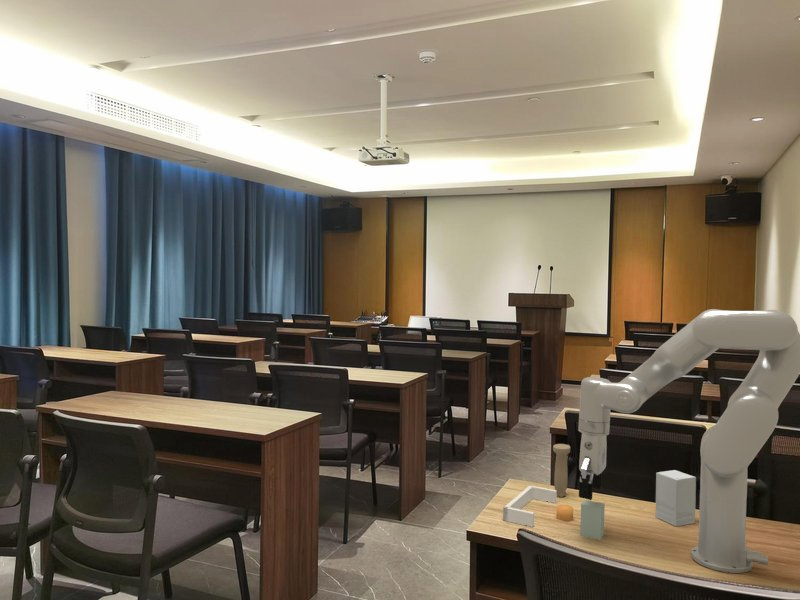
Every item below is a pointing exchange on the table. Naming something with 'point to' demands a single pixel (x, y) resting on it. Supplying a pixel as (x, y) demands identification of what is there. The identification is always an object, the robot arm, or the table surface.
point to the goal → (513, 508)
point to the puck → (564, 513)
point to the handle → (561, 468)
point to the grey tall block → (592, 519)
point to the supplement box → (675, 497)
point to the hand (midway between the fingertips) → (589, 492)
